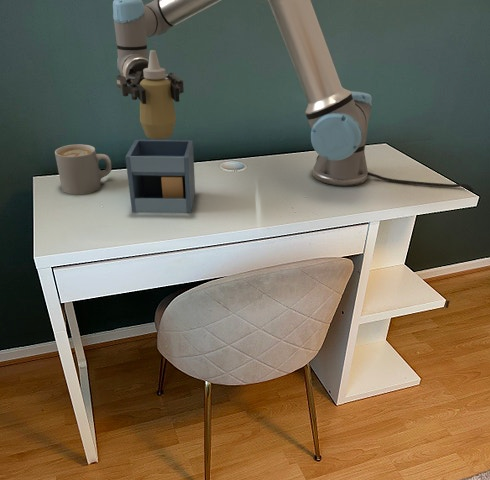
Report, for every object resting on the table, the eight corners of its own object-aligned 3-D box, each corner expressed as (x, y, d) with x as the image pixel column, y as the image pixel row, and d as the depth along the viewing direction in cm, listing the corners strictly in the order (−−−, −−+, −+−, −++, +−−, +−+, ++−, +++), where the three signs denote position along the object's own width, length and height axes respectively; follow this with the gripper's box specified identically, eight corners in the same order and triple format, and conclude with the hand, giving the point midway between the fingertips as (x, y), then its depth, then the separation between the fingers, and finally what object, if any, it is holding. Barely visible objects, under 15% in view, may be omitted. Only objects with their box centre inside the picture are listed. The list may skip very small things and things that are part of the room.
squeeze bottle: (170, 143, 111) (164, 54, 101) (136, 140, 112) (127, 52, 102) (181, 132, 118) (177, 48, 108) (148, 130, 119) (141, 46, 109)
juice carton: (185, 198, 126) (184, 169, 122) (184, 206, 122) (182, 177, 118) (166, 198, 126) (163, 169, 122) (163, 206, 122) (161, 177, 118)
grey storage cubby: (195, 195, 130) (192, 140, 122) (191, 216, 120) (188, 157, 112) (141, 195, 130) (135, 139, 122) (132, 216, 120) (125, 156, 111)
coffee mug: (59, 195, 129) (52, 157, 123) (64, 181, 137) (57, 145, 131) (113, 192, 131) (108, 155, 125) (114, 178, 139) (109, 143, 134)
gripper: (179, 88, 128) (205, 111, 111) (102, 93, 123) (116, 117, 105) (178, 56, 124) (204, 74, 106) (98, 59, 119) (111, 79, 101)
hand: (160, 96), depth 106 cm, fingers closed on squeeze bottle, 6 cm apart
